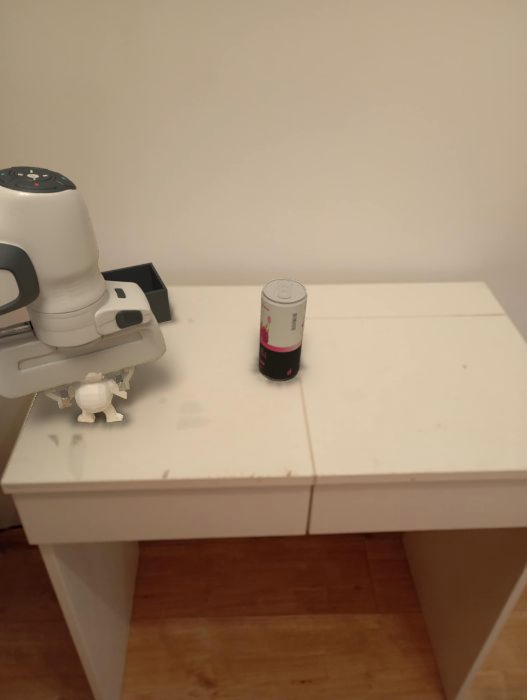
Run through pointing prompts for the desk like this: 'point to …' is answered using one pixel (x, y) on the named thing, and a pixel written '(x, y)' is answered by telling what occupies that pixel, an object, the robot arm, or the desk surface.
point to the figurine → (96, 397)
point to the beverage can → (281, 327)
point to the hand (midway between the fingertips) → (95, 395)
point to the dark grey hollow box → (145, 286)
